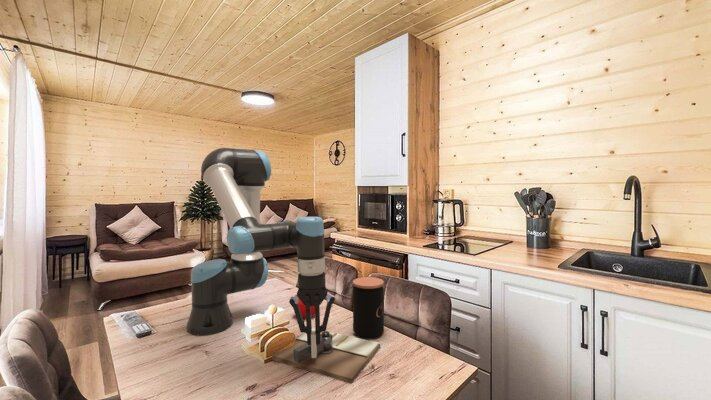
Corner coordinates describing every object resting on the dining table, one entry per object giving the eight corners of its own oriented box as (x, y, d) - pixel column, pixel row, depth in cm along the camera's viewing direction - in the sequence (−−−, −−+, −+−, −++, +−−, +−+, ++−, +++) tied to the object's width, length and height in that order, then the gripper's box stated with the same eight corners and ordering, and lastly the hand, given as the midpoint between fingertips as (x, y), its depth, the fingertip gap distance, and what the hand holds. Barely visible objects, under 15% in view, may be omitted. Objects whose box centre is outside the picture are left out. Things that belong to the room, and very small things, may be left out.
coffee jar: (382, 341, 104) (381, 286, 103) (350, 338, 106) (349, 285, 105) (385, 327, 114) (385, 277, 114) (356, 324, 117) (356, 276, 116)
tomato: (323, 316, 124) (323, 295, 124) (299, 323, 119) (298, 300, 118) (312, 309, 132) (312, 289, 132) (289, 314, 126) (289, 293, 126)
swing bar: (326, 342, 99) (326, 328, 99) (335, 347, 96) (334, 332, 96) (291, 359, 90) (291, 343, 89) (300, 364, 87) (300, 348, 87)
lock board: (272, 359, 93) (272, 353, 93) (310, 331, 111) (310, 326, 111) (351, 383, 82) (351, 376, 82) (380, 347, 100) (380, 342, 100)
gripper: (286, 277, 85) (289, 364, 86) (334, 275, 85) (337, 361, 86) (290, 269, 92) (293, 349, 93) (334, 268, 93) (337, 347, 94)
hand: (314, 355), depth 90 cm, fingers closed
